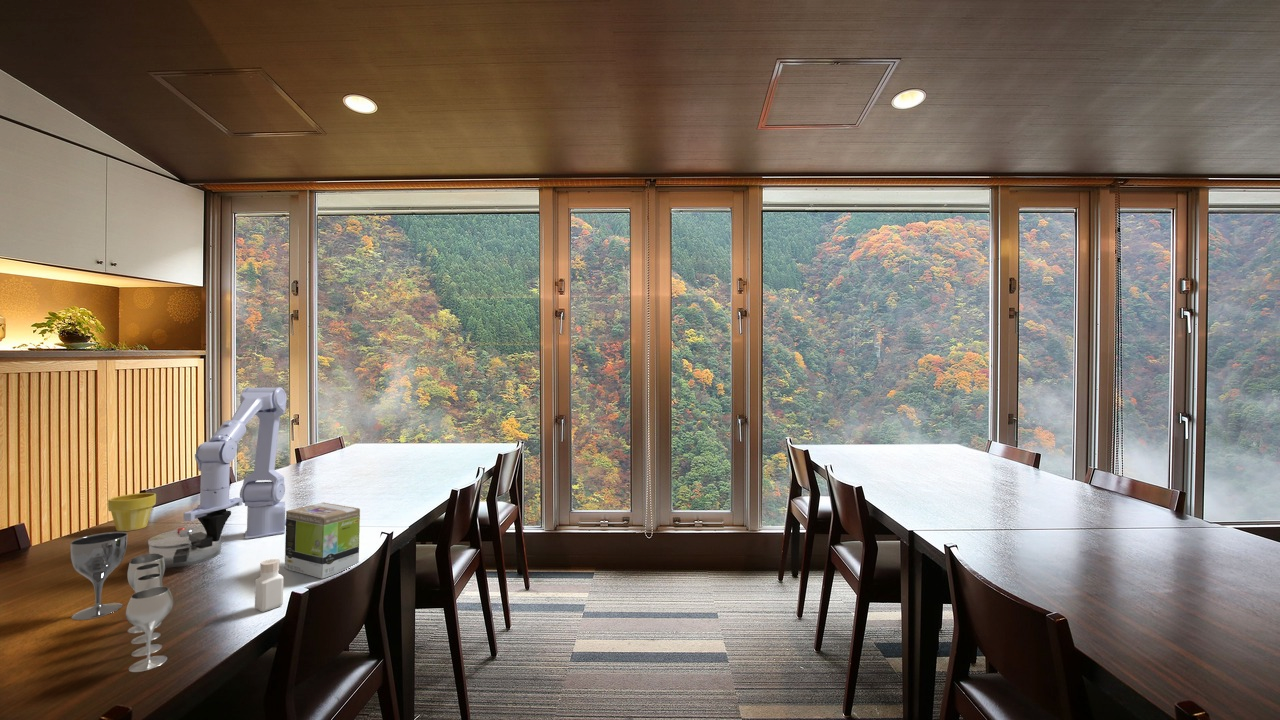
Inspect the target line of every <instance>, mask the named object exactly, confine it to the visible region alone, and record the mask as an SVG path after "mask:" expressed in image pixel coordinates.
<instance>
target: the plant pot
mask: <svg viewBox="0 0 1280 720" xmlns="http://www.w3.org/2000/svg"><path fill="white" fill-rule="evenodd" d="M156 502H157V493H154V492H141V493H131V494H123V495H118V496H114V497H111V498H109V499H108V501H107V507H108V508H107V510H108V511H109V512H111V515H112V520H113V523H114V527H115V530H116V532H131V531H136V530H141V529H144V528H146V527H147V526H148V524H149V519H150V517H151V513H152V509H153V507H154V506H155V505H156Z"/></svg>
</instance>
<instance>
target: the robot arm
mask: <svg viewBox="0 0 1280 720" xmlns="http://www.w3.org/2000/svg"><path fill="white" fill-rule="evenodd" d="M287 396H288V395H287V394H286V391H285V389H284V388H283V387H282V386H281V387H279V386H277V387H248V386H246V387H245V388H244V389H243V390H242V392H240V395H239V402H240V403H239V404H240V405H239V406H238V408H237V409H236V411H235V413H234V414H233V417H232V418H230V420H226V421H224V422H222V424H220V426H219V428H218V429H217V430H216V431H215V433H214V434H213V435H212V437H211V438H210V439H209V440H208V441H205V442H202V443H201V444H199V445H198V447H197V448H196V451H195V454H194V460H195V462H196V464H197V470H198V471H199V472H200V485H199V487H200V492H199V493H200V495H199V496H200V497H199V498H200V499H199V505H197V507H195V508H193V509H191V510H189V511H186V512H183V521H184V522H193V521H195V520H196V519H197V520H198V521H199V522H200V524H201V525H202V526H204V528H205V531H206V533H207V535H209V536H211V537H213V542H216V541H219V539H220V536H221V537H222V534H221V532H222V533H223V529H224V527H225V525H226V523H227V521H228V519H229V518H230V517H231V515H232V511H231V510H228V509H231V508H235V507H241V506H243V504H244V506H245V507H247V510H246V511H247V512H246V514H247V515H246V516H247V517H246V530H245V531H244V532H245V534H244V539H245V540H249V539H255V538H261V537H267V536H274V535H275V536H276V535H281V534H286V501H281V500H282V499H283V498H284V496H285V493H286V486H285V476H284V475H282V474H280V473H279V472H278V471H277V470H275V469H276V458H277V449H278V441H279V430H280V420H281V417H282V416H283V415H285V414H286V408H287V400H288V397H287ZM255 416H256V417H257V418H258V419H259V423H258V432H257V439H256V440H257V441H256V450H255V458H254V468H253V472H251V473H250V474H248V475H247V476H245V477H244V478H243V481H242V482H243V483H242V486H241V488H240V491H239V497H235V498H234V497H233V498H230V471H231V462H233V460H234V459H235V457H236V453H237V450H238V444H239V442H240V441H241V440H242V438H243V437H244V436H245V434H246V433H247V427H246V425H247V424H248V423H249V422H251V420H252V419H253V417H255Z"/></svg>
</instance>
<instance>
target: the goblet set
mask: <svg viewBox="0 0 1280 720" xmlns="http://www.w3.org/2000/svg"><path fill="white" fill-rule="evenodd" d="M165 570H166V568H165V561H164V556H163V555H160V554H149V553H147V554H146V553H145V554H141V555H138V556H135V557H133V558H131V559H130V561H129V563H128V567H127V574H126V575H127V581H128V584H129V586H130V587H131V589H132V590H134V593H133V594H132V595H131V597H130V598H129V601H128V603H127V606H126V609H125V617H126V620H127V621H128V623H130V624H132V625H133V626H131V627H129V629H127V633H129V634H141V633H144V634H141V635H139V636H136V637H134V638H133V639H132V640H131V641H130V643H131V644H132V645H140V644H145V646H142V647H139V648H137V649H136V650H134V651H132V652H131V656H132V657H135V658H136V657H144V656H146V658H143V659H141V660H139V661H136V662H135V663H133V664H131V665H130V666H129V668H128V671H129V672H131V673H139V672H144V671H149V670H153V669H154V668H157V667H159V666H161V665H163V664H165V662H167V660H168V657H167V656H166V655H154V656H151V654H154V653H156V652H158V651H159V650H161V649H162V648H163V645H162V644H159V643H155V644H151V643H152V641H153V640H156V639H159V637H161V633H160V632H154V631H155V629H156V628H158V627H160V626H161V625H162V621H163V620H164V619H165V618H166V617H167V616H168V615H169V613H170V612H171V611H172V609H173V605H174V598H173V594H172V593H171V590H170V588H169V587H167V586H163V580H162V579H163V577H164V574H165Z"/></svg>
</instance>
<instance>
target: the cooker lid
mask: <svg viewBox="0 0 1280 720" xmlns="http://www.w3.org/2000/svg"><path fill="white" fill-rule="evenodd" d="M222 533H223V531H222V532H221V535H222ZM212 543H213V537H211V536H209V535H207V533H206V531H205V528H204V526H203V525H202V526H201V525H200V526H191V527H179V528H177V529H174V530H170V531H167V532H162V533H160V534H157V535H154V536H152V537H150V538H149V539H148V540H147V544H148V547H149V546H151V547H176V546H184V545H189V544H192V545H194V546H196V547H198V548H200V549H202V548H206V547H210V546H212Z"/></svg>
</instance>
